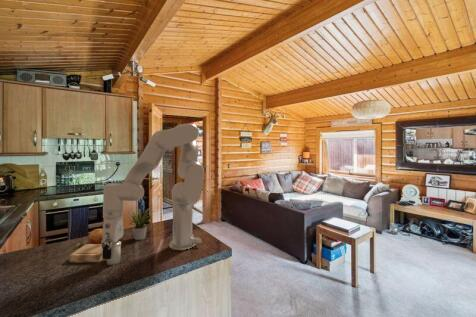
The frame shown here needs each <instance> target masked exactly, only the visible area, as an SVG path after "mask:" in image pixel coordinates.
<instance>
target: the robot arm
mask: <svg viewBox="0 0 476 317" xmlns="http://www.w3.org/2000/svg"><path fill="white" fill-rule="evenodd" d="M199 131H200V130H199V128H198V126H197V125H195V124H194V123H190V122H188V123H183V124H182V123H181V124H178V125H176V126H174V127H173V128H168V129H161V130H157V131H155V132H154V133H153V134H152V135H151V137H150V139H149V141H148V142H147V144H146V146H145V148H144V150H143V151H142V153H141V155H140V157H139V158H138V159H137V161H136V162H135V163H134V165H133V166H132V167H130V170H129V171H128V173H127V175H126V176H125V178H124V180H123V181H122V183H114V182H113V183H107V184H105V185H104V186H103V193H102V196H103V198H102V199H103V200H102V205H103V206H102V218H103V225H102V229H103V236H102V241H101V244H102V250H103V259H102V260H107V259H111V249H110V248H111V245H112V242H113V243H115V242H117V241H121V242H122V239H123V238H122V237H123V236H124V231H125V230H124V201H127V202H129V201H131V202H134V201H135V202H136V201H138V200H141V199H142V198H143V197H144V195H145V189H144V187H143V186H142V185H141V184H142V183H143V180H145V178H146V176H147V175H148V174H149V173H151V172H153V171H154V170H155V169H156V168H158V166H159V164H160V162H161V161H162V159H163V157H164V154H165V153H166V151H167V150H169V149H170V150H171V149H174V148H179V147H180V156H179V160H178V165H177V166H178V167H177V175H178V177H179V178H180V179H183V180H184V181H181V182H180V181H179V182H177V183H175V184H174V185H173V187H172V189H171V200H172V201H171V202H172V241H171V242H170V243H169V246H168V247H169V248H170V249H171V250H174V251H186V249H188V250H191V249H193V248H194V247H195V246H196V243H197V244H198V243H199V244H200V243H202V238H200V237H199V236H198V237H195V236H194V234H193V212H194V211H193V205H196V204H197V203H198V202H199V201H200V199H201V197H202V192H203V186H204V180H205V168H204V167H203V165H202V164H201V163H200V162H199V161H198V157H199V147H198V144H197V139H198V137H199V134H200V132H199ZM107 243H109V246H108V245H107ZM192 247H193V248H192ZM190 248H191V249H190Z"/></svg>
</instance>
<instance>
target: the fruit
mask: <svg viewBox="0 0 476 317" xmlns="http://www.w3.org/2000/svg"><path fill="white" fill-rule="evenodd" d="M102 236H103V228H95V229H93V230H92V231H90V232H89V233H88V235H87V239H88V242H89V244H101V241H102Z"/></svg>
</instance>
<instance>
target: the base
mask: <svg viewBox="0 0 476 317" xmlns="http://www.w3.org/2000/svg"><path fill="white" fill-rule="evenodd" d="M102 260H104V259H103V250H102V244H91V243H85V244H83V245H82V246H80V247H79V248H78V249H76V250H75V251H74V252H72V253H70V254H69V263H101V261H102Z"/></svg>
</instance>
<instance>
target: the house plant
mask: <svg viewBox="0 0 476 317" xmlns="http://www.w3.org/2000/svg"><path fill="white" fill-rule="evenodd" d="M150 209H151V208H147V209H146V210H145V211H144V212H143V213H142V210H141V209H140V208H138V209H137V208H136V209H135V210H136V211H137V213H138V215H139V218H138V216H137V214H136V213H135V212H134V211H132V210H130V212H131V213H132V215H131V217H132V219H130V220H128V221H129V222H130V223H129V225H133V226H132V233H133V237H134V240H135V241H142V240H144V239H145V238H146V236H147V235H146V234H147V228H148V227H147V225H146V224H149V223H150V222H152V221H151V219H148V218H149V217H150V215H149V214H151V213H154V212H155V211H153V210H152V211H149V210H150ZM148 211H149V212H148ZM131 222H132V223H131Z"/></svg>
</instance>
